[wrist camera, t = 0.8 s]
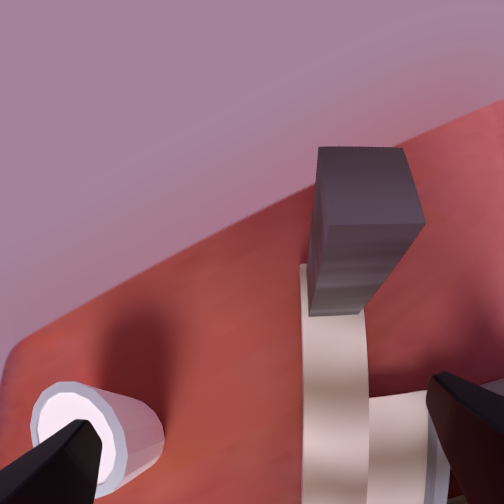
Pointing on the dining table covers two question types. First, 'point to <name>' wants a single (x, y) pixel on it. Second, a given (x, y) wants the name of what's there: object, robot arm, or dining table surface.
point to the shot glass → (103, 429)
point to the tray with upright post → (361, 340)
